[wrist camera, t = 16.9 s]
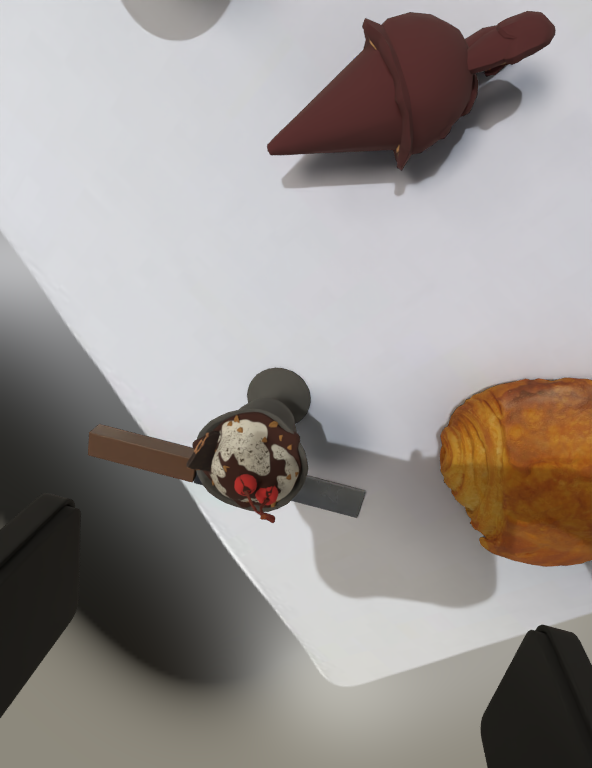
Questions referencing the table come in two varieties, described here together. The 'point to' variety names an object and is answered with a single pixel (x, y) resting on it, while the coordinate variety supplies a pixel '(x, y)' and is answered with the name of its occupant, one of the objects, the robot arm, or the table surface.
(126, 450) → the knife
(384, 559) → the table surface
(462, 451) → the croissant
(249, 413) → the sundae
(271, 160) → the table surface
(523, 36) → the icecream
